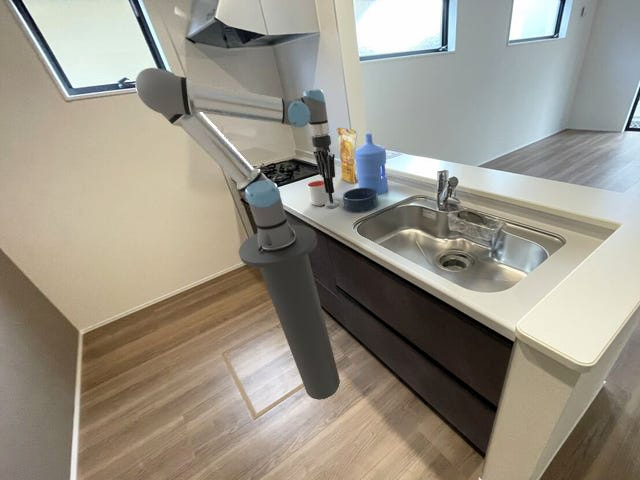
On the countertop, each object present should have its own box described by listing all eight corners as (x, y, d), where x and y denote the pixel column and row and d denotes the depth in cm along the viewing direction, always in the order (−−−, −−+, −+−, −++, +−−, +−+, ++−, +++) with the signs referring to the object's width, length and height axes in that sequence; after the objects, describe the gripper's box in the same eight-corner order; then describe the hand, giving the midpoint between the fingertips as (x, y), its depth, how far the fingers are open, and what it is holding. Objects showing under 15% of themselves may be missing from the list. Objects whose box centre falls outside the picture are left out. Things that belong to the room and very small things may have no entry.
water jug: (364, 198, 153) (358, 139, 136) (355, 189, 165) (348, 134, 149) (392, 192, 156) (389, 134, 140) (382, 183, 168) (378, 129, 152)
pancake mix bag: (348, 175, 188) (341, 126, 172) (362, 181, 174) (357, 129, 158) (338, 177, 186) (331, 128, 170) (352, 184, 172) (346, 131, 156)
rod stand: (330, 210, 132) (323, 170, 122) (322, 206, 137) (315, 168, 127) (342, 205, 135) (336, 167, 125) (334, 202, 140) (328, 164, 130)
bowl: (358, 215, 136) (356, 203, 132) (337, 206, 147) (336, 195, 143) (385, 204, 143) (384, 192, 140) (364, 196, 154) (362, 185, 151)
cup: (318, 198, 159) (314, 179, 153) (334, 200, 155) (331, 180, 149) (307, 205, 152) (303, 186, 146) (323, 207, 148) (319, 187, 142)
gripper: (338, 134, 116) (346, 193, 129) (319, 131, 125) (328, 187, 139) (322, 138, 112) (331, 198, 126) (303, 135, 122) (314, 191, 135)
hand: (330, 192), depth 132 cm, fingers closed on rod stand, 2 cm apart
